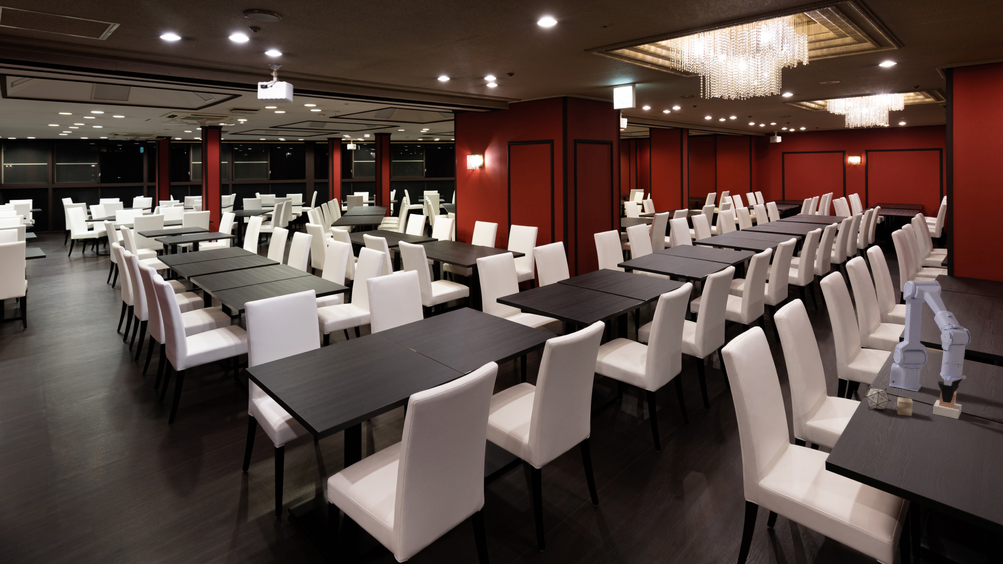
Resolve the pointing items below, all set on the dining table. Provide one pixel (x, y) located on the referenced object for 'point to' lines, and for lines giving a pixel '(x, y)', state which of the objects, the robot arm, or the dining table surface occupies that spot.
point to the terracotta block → (950, 405)
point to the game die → (877, 398)
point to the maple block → (904, 406)
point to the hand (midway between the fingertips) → (948, 398)
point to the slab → (947, 410)
